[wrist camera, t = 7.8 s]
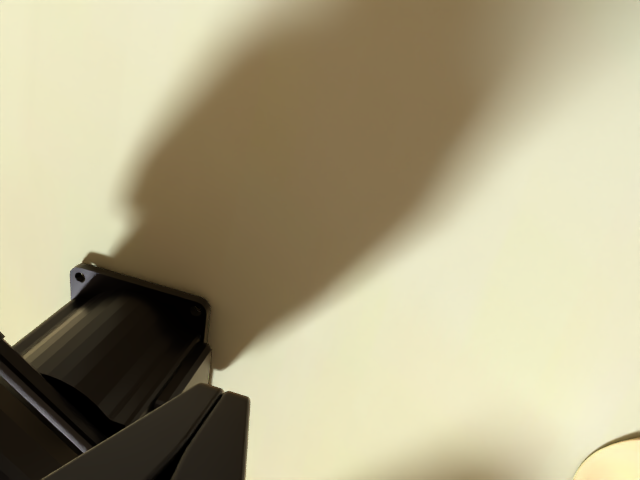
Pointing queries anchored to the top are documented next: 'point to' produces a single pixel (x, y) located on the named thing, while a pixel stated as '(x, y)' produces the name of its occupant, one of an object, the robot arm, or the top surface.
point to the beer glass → (613, 462)
